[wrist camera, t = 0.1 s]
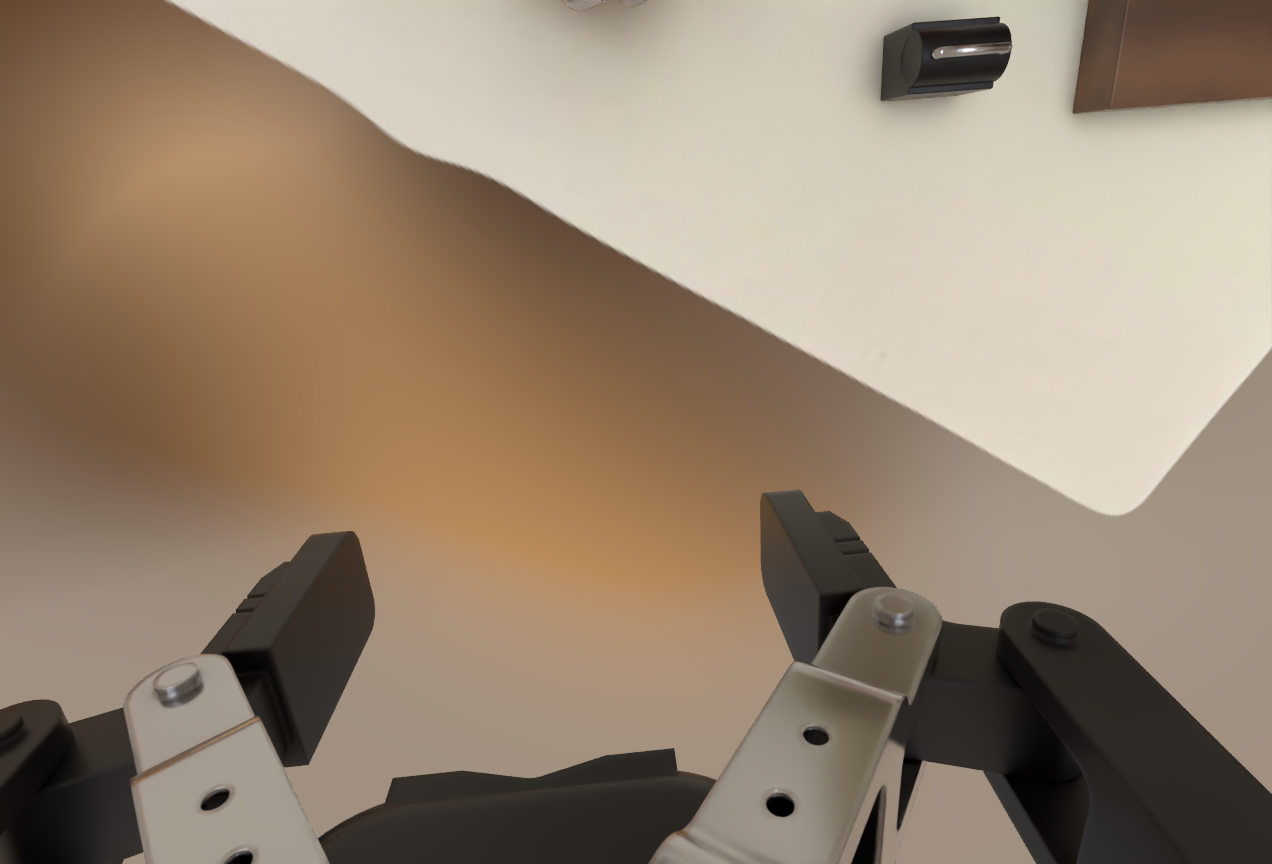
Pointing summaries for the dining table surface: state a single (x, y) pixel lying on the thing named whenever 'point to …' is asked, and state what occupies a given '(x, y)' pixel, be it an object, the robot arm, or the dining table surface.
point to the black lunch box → (944, 58)
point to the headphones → (596, 3)
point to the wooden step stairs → (1174, 53)
